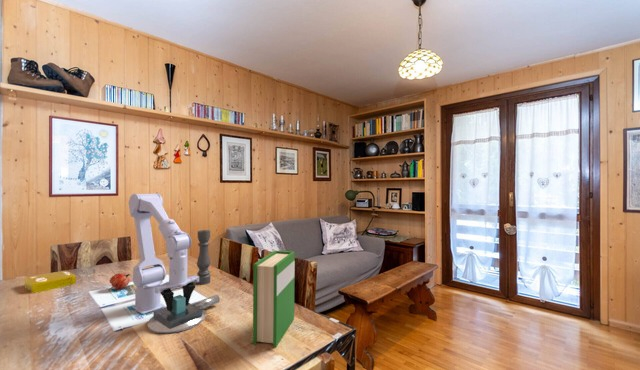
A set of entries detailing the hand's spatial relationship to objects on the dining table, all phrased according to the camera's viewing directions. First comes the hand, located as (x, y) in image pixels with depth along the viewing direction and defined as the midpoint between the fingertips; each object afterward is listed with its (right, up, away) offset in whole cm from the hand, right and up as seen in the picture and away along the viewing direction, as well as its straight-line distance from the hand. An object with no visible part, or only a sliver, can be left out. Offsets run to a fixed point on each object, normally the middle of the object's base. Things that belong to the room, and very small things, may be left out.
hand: (177, 307), depth 97 cm
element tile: (-76, -5, +33) cm, 83 cm away
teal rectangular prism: (0, -3, 0) cm, 3 cm away
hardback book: (+35, -5, -6) cm, 36 cm away
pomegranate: (-41, -4, +28) cm, 50 cm away
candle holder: (-7, -5, +38) cm, 38 cm away
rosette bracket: (+2, -4, +3) cm, 5 cm away
